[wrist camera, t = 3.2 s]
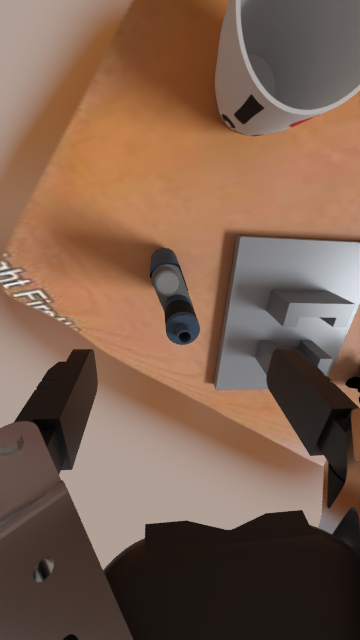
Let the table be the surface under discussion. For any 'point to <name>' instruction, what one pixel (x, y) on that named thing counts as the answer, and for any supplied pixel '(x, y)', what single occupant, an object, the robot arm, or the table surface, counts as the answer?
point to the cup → (285, 62)
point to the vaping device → (174, 297)
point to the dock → (286, 305)
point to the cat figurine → (354, 383)
